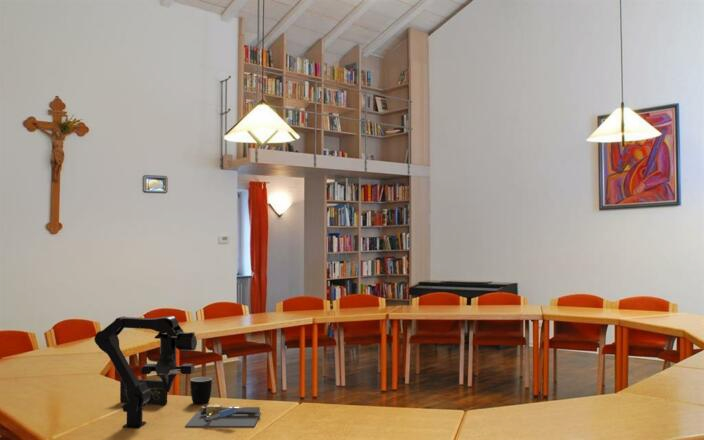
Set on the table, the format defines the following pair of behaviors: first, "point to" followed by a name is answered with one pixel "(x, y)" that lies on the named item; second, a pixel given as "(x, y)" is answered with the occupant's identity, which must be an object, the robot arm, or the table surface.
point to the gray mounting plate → (224, 421)
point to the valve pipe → (216, 408)
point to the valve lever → (221, 414)
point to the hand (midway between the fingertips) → (168, 391)
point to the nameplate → (156, 392)
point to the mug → (201, 390)
